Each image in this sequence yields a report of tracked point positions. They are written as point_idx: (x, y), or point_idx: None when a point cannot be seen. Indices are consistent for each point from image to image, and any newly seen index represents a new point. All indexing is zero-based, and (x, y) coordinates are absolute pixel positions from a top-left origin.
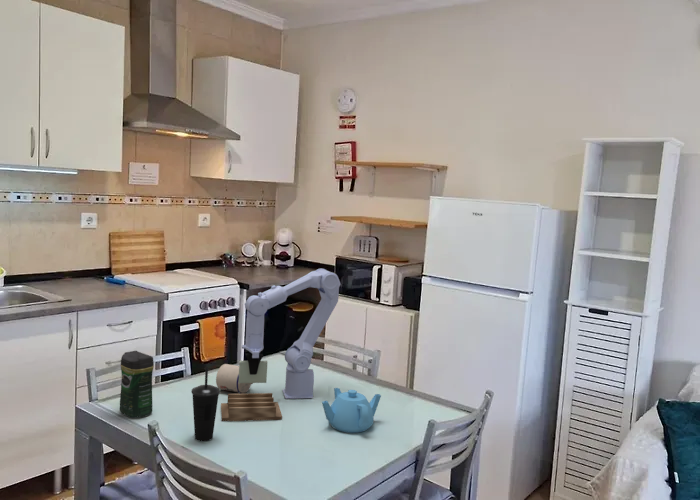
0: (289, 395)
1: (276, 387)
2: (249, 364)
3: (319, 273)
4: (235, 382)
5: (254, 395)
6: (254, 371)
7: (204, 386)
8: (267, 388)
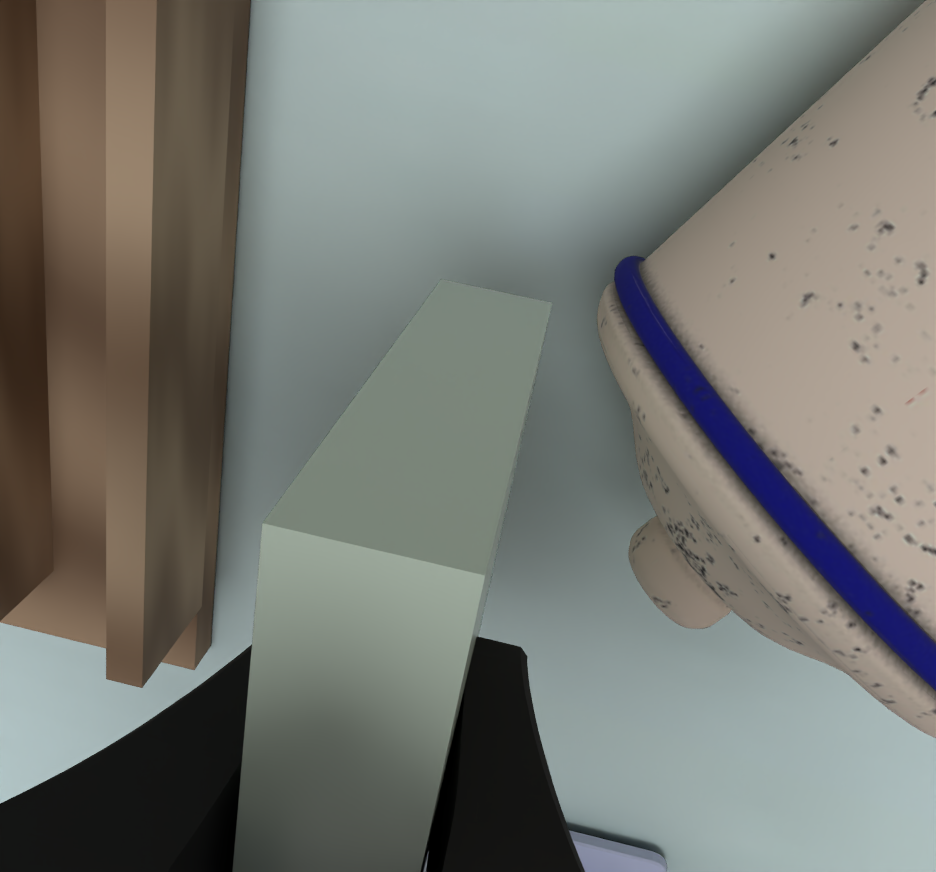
0: None
1: (827, 837)
2: (104, 761)
3: None
4: (669, 251)
5: (114, 432)
6: None
7: None
8: (836, 735)
